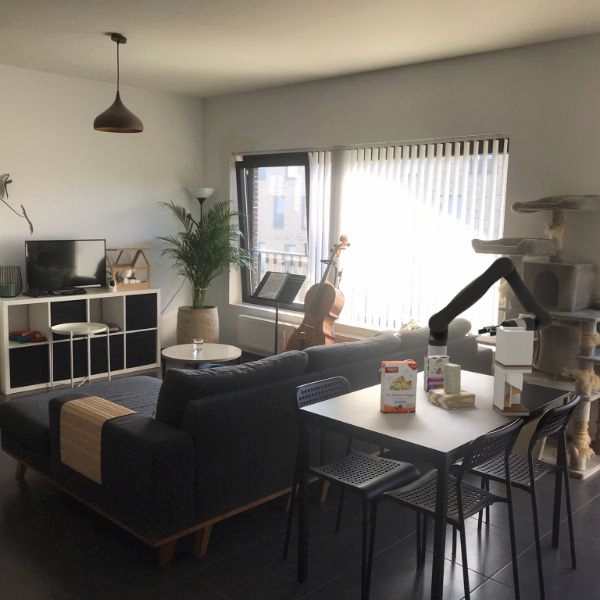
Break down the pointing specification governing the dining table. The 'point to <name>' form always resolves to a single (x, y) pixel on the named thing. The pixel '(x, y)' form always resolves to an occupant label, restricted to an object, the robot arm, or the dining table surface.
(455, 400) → the birch plinth
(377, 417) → the dining table surface
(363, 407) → the dining table surface
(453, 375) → the skincare box
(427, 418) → the dining table surface
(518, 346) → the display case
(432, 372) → the candy bar box
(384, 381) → the cracker box
